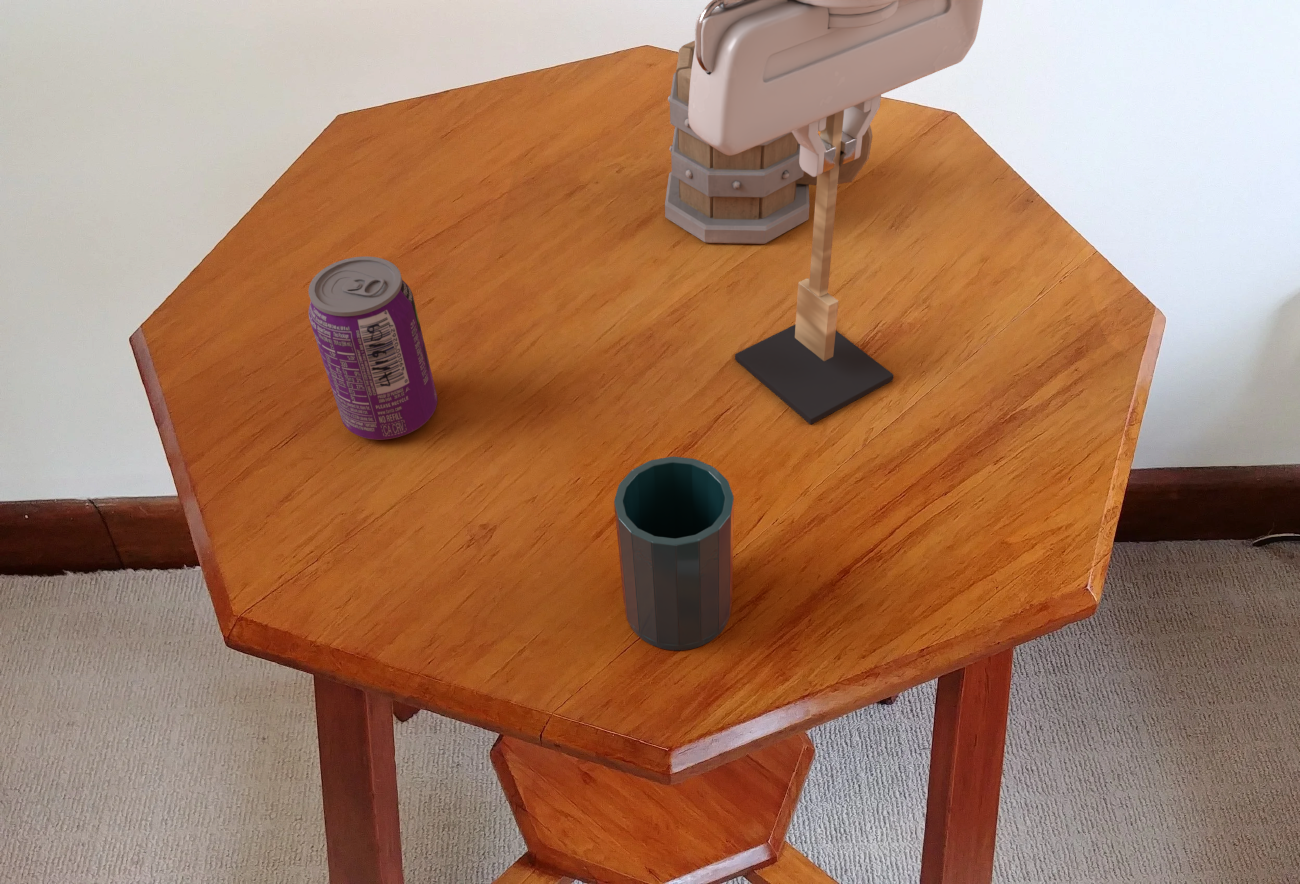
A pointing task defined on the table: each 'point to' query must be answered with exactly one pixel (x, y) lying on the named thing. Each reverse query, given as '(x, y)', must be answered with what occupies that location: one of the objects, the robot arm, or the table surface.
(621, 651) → the table surface
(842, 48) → the robot arm
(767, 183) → the tankard
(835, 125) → the wooden stir stick
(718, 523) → the cup
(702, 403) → the table surface
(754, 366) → the mat
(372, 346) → the beverage can
